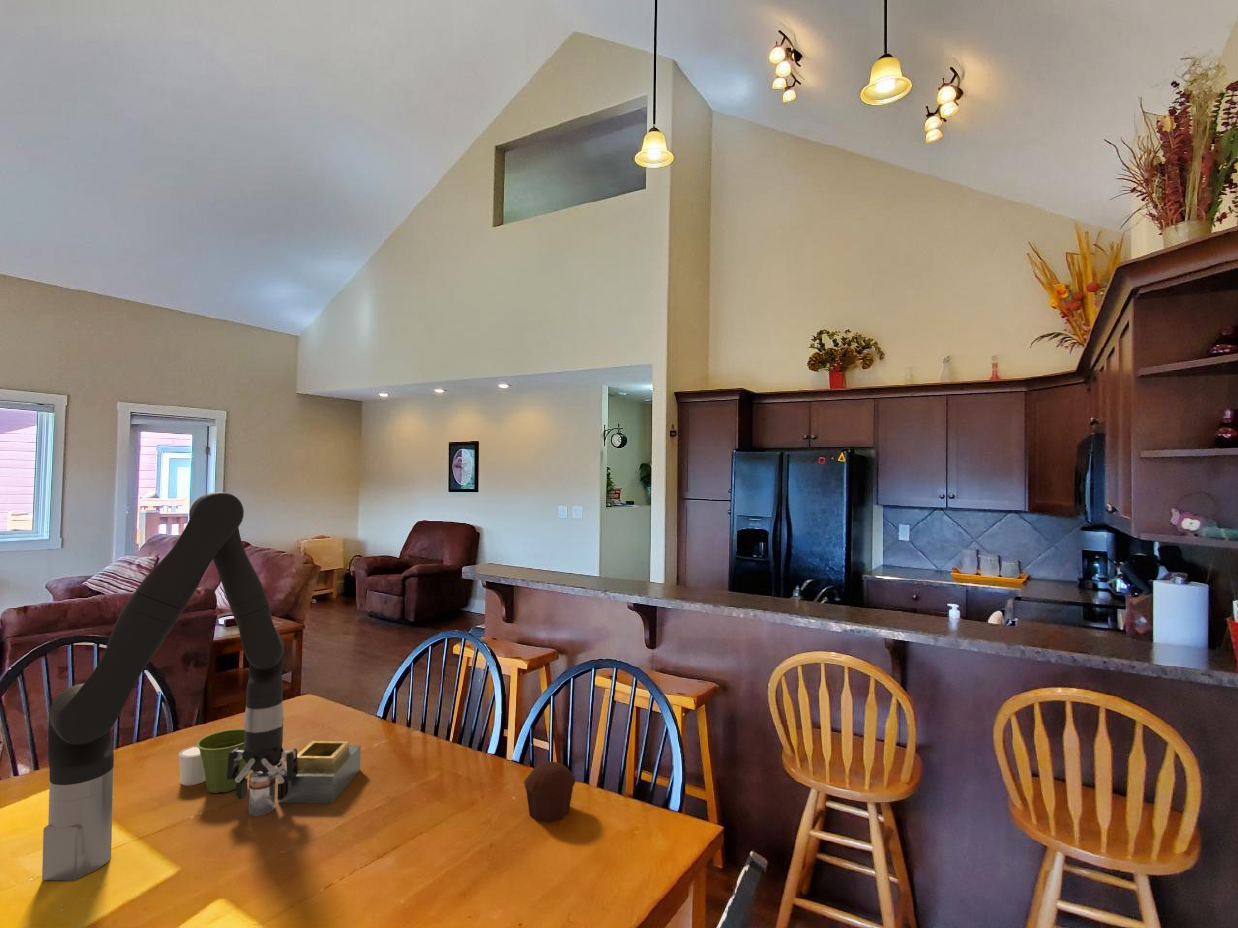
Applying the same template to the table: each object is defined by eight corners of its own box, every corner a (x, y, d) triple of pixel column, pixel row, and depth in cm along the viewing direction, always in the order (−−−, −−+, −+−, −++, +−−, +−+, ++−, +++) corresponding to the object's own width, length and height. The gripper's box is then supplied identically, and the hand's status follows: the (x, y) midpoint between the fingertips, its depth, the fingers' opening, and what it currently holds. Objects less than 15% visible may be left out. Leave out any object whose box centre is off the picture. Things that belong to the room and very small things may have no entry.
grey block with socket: (331, 803, 142) (332, 765, 142) (278, 802, 142) (279, 764, 142) (360, 768, 159) (361, 734, 159) (312, 767, 159) (313, 733, 159)
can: (267, 816, 137) (268, 774, 137) (243, 815, 137) (244, 774, 137) (279, 803, 142) (280, 763, 142) (256, 803, 142) (257, 763, 142)
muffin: (565, 829, 134) (566, 781, 134) (516, 822, 136) (517, 775, 136) (580, 800, 146) (581, 757, 146) (534, 794, 148) (535, 751, 148)
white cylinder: (199, 787, 148) (200, 757, 148) (170, 786, 148) (171, 756, 149) (218, 773, 155) (219, 744, 155) (191, 772, 155) (191, 743, 155)
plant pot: (265, 775, 154) (266, 729, 154) (231, 801, 142) (232, 750, 143) (220, 772, 155) (221, 726, 156) (182, 797, 144) (183, 747, 144)
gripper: (220, 730, 135) (218, 806, 135) (287, 731, 136) (286, 807, 135) (241, 716, 143) (239, 788, 143) (304, 717, 143) (303, 789, 143)
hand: (262, 797), depth 139 cm, fingers open, 8 cm apart
